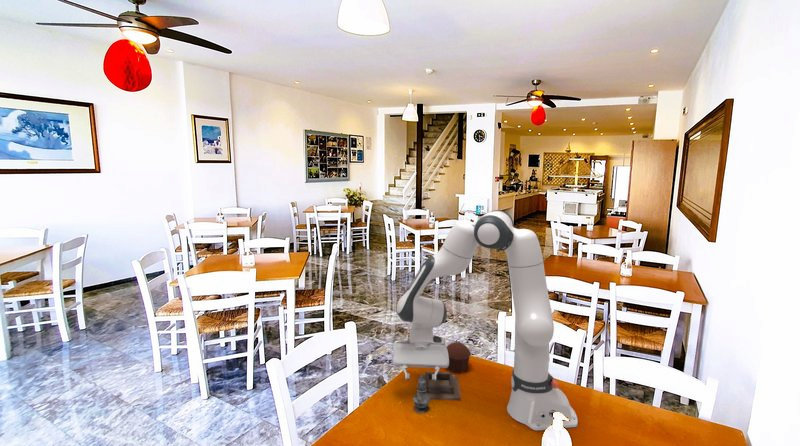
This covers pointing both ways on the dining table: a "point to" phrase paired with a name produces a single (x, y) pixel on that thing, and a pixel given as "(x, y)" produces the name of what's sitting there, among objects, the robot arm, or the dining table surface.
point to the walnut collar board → (442, 386)
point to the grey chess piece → (421, 397)
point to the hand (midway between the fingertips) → (420, 379)
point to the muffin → (458, 357)
